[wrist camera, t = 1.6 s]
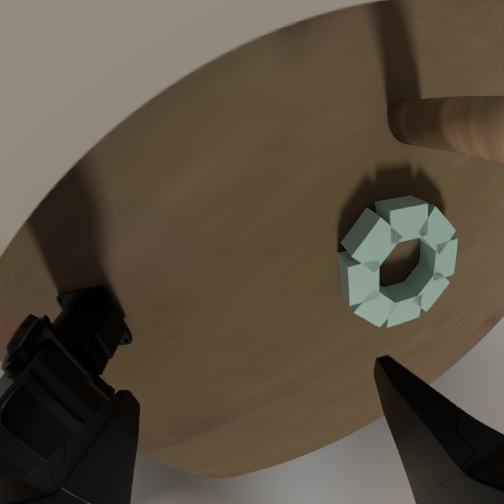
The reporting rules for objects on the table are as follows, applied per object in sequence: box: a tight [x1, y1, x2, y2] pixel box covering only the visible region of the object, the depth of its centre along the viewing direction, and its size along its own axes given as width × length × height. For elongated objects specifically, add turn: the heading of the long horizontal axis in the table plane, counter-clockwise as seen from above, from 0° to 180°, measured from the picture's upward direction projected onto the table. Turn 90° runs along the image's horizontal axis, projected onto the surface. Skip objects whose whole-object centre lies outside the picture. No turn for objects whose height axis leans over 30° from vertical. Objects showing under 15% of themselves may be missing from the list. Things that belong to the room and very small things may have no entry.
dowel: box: [388, 96, 504, 165], centre depth 11 cm, size 3×3×13 cm
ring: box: [338, 195, 458, 328], centre depth 20 cm, size 10×10×2 cm
